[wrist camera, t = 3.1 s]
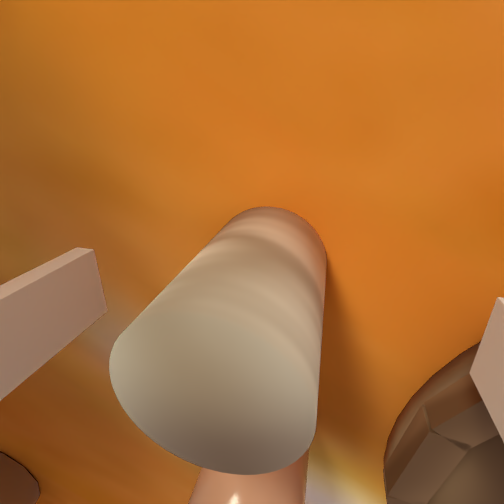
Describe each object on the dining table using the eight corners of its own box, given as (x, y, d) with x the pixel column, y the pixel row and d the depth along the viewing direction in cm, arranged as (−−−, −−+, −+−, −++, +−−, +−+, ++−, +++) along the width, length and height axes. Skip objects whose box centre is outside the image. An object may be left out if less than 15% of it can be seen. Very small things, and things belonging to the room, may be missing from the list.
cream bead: (231, 310, 14) (150, 464, 8) (203, 215, 13) (75, 317, 6) (333, 305, 13) (331, 486, 7) (317, 197, 11) (294, 304, 5)
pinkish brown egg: (237, 442, 18) (186, 615, 12) (216, 382, 16) (144, 547, 10) (317, 449, 17) (305, 649, 10) (303, 384, 15) (280, 576, 9)
